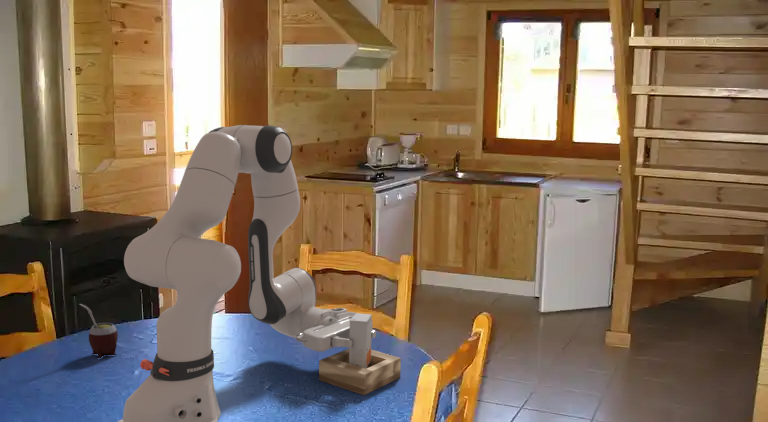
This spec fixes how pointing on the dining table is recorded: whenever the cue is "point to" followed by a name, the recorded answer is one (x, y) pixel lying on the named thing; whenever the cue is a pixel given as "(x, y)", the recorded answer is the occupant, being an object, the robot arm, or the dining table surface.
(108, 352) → the mate gourd
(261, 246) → the robot arm
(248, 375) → the dining table surface
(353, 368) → the socket block
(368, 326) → the skincare box
